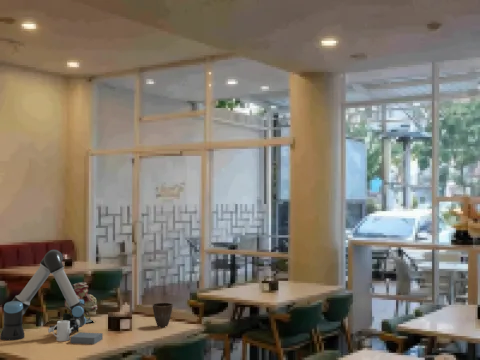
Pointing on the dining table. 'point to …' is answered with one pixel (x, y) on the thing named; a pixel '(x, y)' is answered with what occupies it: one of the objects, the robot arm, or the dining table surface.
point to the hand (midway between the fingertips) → (58, 331)
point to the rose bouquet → (88, 301)
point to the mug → (62, 330)
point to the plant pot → (162, 313)
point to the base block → (86, 338)
